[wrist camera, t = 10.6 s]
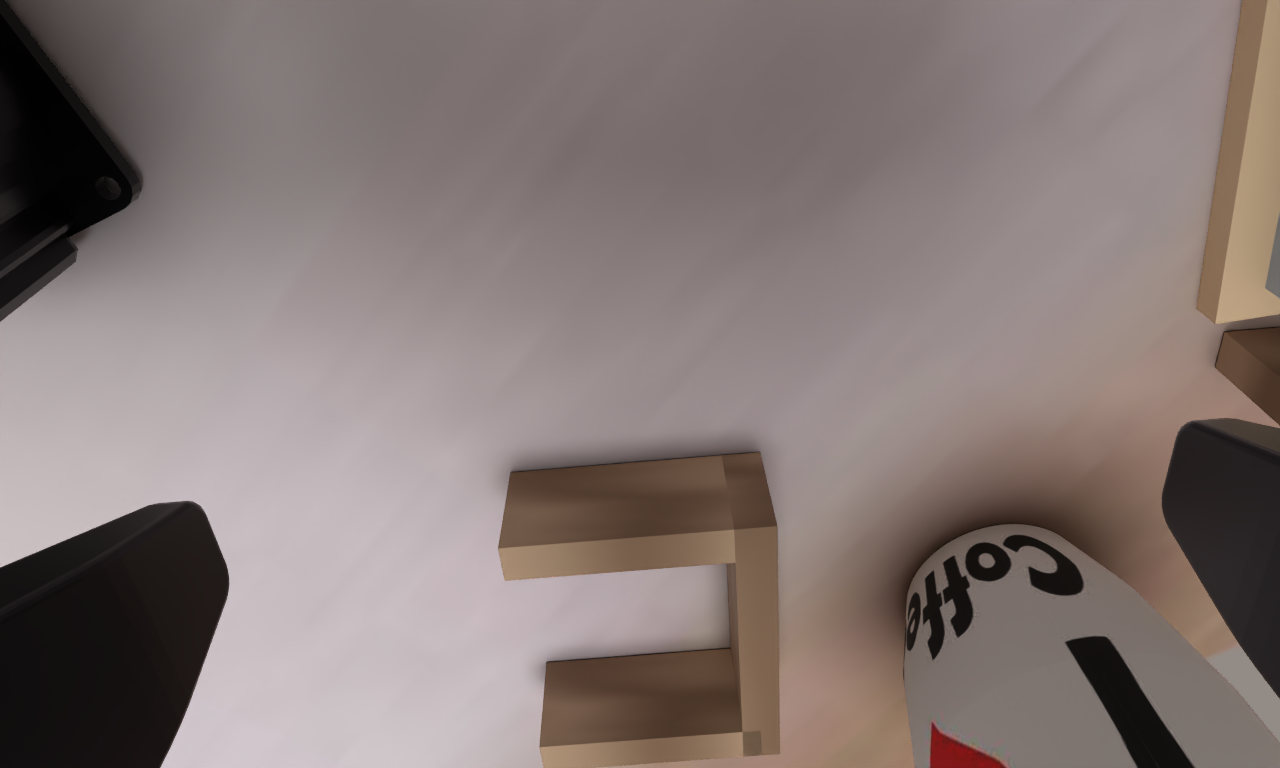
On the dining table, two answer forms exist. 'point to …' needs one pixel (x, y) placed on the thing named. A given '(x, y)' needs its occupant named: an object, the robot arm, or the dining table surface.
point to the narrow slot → (652, 539)
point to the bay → (1254, 366)
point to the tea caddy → (1247, 179)
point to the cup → (1059, 667)
